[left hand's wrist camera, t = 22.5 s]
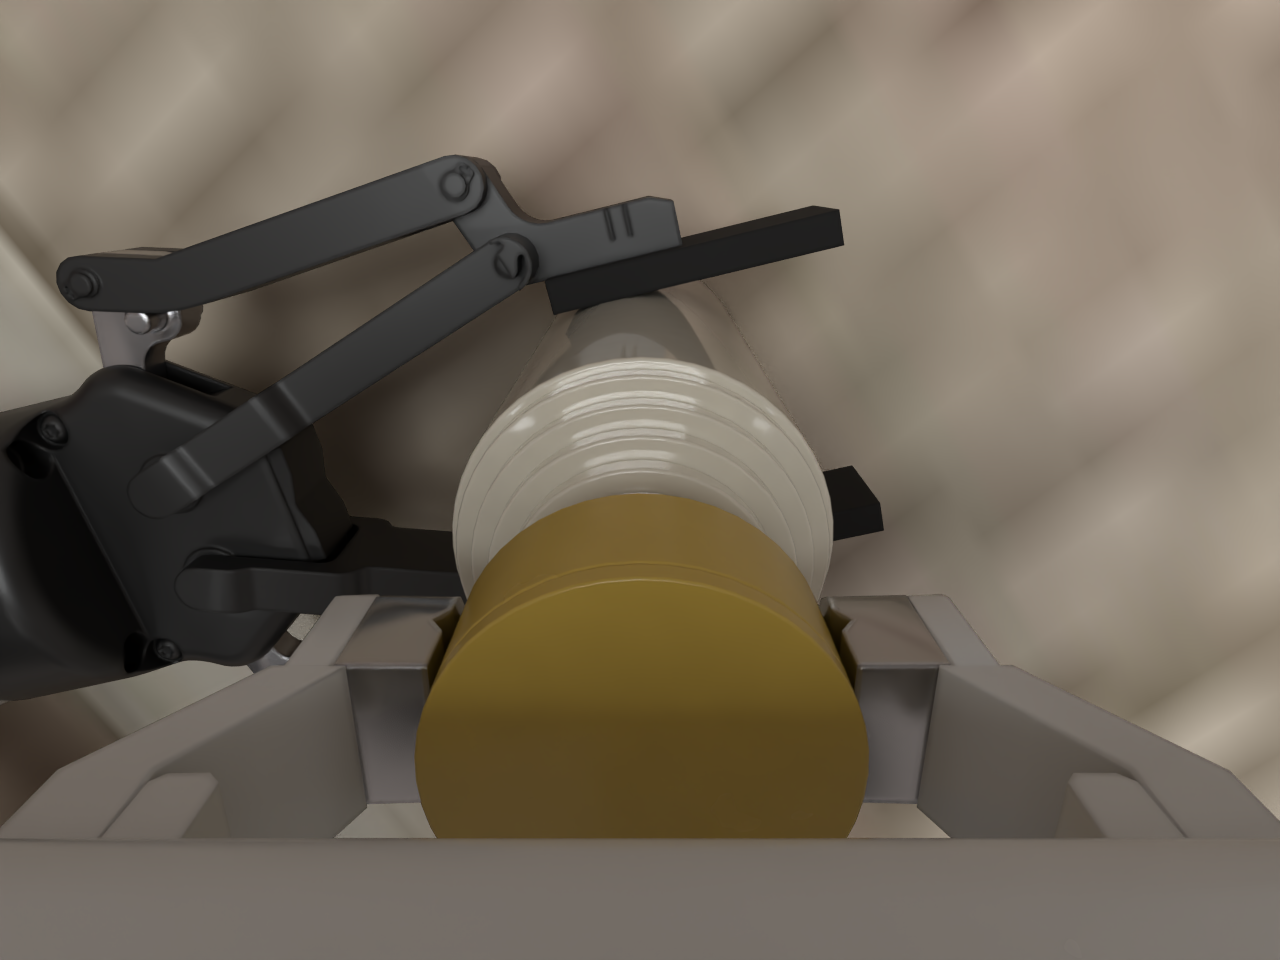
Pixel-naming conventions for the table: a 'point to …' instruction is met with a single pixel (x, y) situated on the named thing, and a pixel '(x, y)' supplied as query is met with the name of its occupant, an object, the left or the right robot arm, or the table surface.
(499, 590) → the cap
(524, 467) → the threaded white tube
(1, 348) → the table surface
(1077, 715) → the left robot arm
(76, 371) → the table surface
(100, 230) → the table surface
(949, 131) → the table surface
